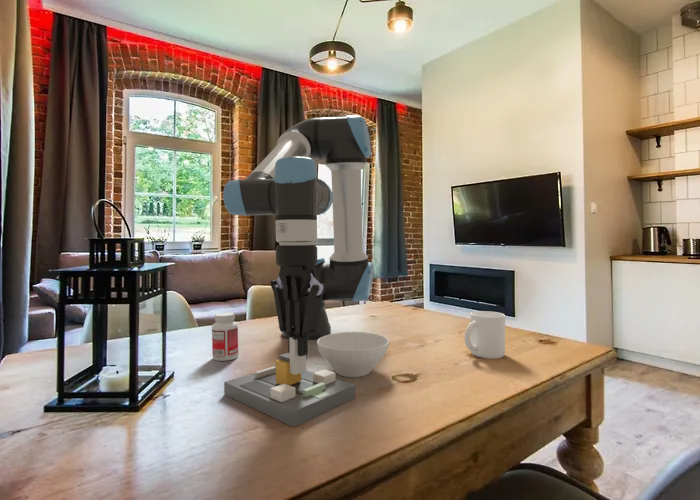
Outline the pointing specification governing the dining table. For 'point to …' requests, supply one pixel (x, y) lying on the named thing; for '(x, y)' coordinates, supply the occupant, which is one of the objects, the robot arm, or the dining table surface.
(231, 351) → the pill bottle
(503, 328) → the mug
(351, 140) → the robot arm
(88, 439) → the dining table surface
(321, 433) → the dining table surface
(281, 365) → the breaker handle
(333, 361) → the bowl
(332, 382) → the panel
